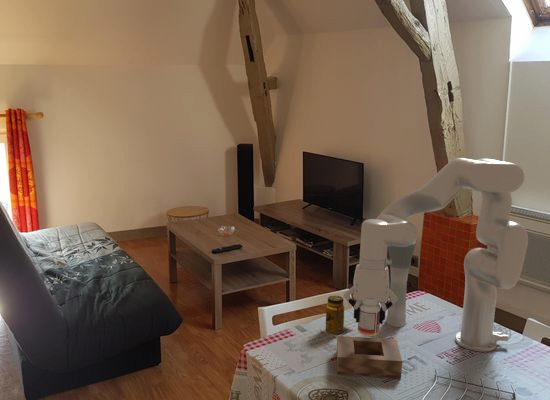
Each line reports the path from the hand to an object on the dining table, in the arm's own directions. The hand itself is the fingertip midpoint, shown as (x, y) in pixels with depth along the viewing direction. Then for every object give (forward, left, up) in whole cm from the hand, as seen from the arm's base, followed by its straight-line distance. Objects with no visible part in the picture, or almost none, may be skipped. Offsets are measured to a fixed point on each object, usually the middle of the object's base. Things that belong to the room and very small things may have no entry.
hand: (368, 320), depth 151 cm
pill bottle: (0, 0, -4) cm, 4 cm away
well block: (0, 0, -14) cm, 14 cm away
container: (-12, -31, -14) cm, 36 cm away
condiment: (+9, -22, -14) cm, 27 cm away
